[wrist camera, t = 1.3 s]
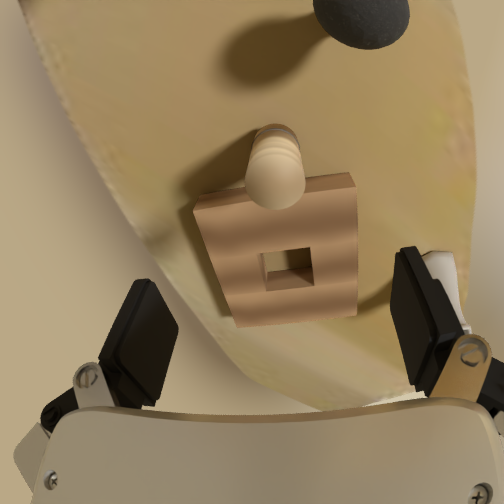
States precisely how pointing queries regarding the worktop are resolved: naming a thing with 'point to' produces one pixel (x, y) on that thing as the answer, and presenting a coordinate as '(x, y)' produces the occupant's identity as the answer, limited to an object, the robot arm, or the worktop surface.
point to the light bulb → (363, 21)
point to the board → (285, 238)
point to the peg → (275, 168)
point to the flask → (446, 279)
